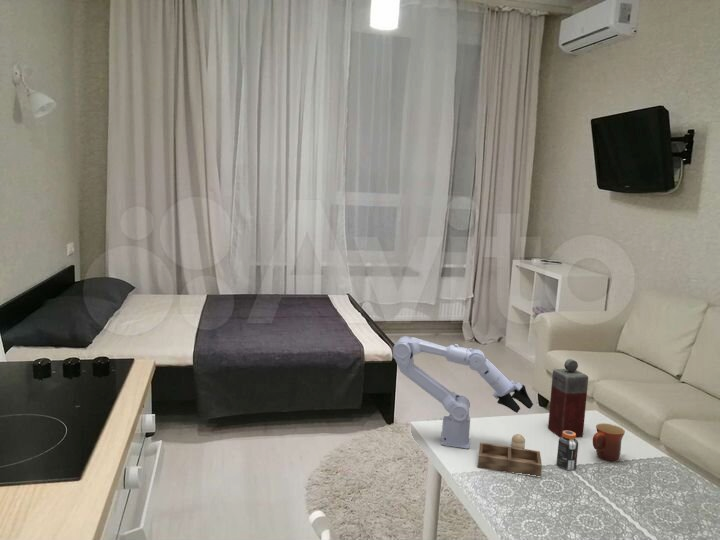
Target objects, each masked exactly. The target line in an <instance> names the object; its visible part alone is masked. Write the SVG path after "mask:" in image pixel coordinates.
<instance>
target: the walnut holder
mask: <svg viewBox="0 0 720 540" xmlns="http://www.w3.org/2000/svg"><path fill="white" fill-rule="evenodd" d="M478 449H479V450H478V456H477V457H478V459H477V460H478V461H477V468H479V469H484V470H491V471H495V472H497V471H498V472H502V471H506V472H505V473H508V472H514V473H513V474H515V473H522V474H530V475H536V476H541V477H542V469H543V465H542V457H541V451H540V450H533V449H527V448H525V449H521V448H514V447H511V446H506V445H501V444H492V443H486V442H479V448H478Z"/></svg>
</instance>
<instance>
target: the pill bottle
mask: <svg viewBox="0 0 720 540" xmlns="http://www.w3.org/2000/svg"><path fill="white" fill-rule="evenodd" d="M557 443H558V445H557V454H556V456H557V457H556V465H557V467H559V468H561V469H563V468H564V469H563V470H568V471H573V470H575V469H576V468H577V463H578V452H579V441H578V440H577V438H576V433H574V432H572V431H567V430H565V431H563V434H562V437H558V442H557Z"/></svg>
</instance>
